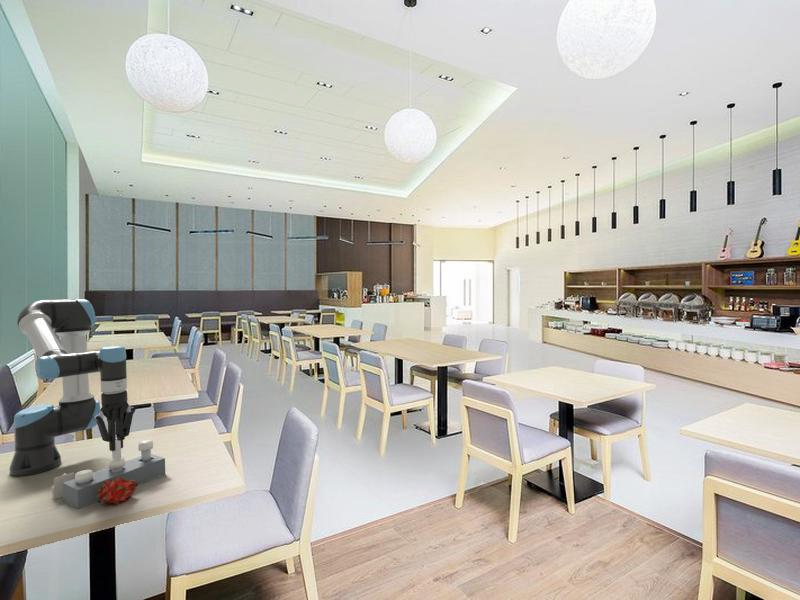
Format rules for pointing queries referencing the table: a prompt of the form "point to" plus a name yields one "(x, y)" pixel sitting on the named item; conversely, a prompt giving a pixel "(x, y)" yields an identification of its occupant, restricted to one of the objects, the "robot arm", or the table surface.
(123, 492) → the dragon fruit
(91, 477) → the knob near
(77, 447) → the table surface
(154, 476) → the mount
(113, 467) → the knob mid
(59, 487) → the architectural model
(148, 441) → the knob far
